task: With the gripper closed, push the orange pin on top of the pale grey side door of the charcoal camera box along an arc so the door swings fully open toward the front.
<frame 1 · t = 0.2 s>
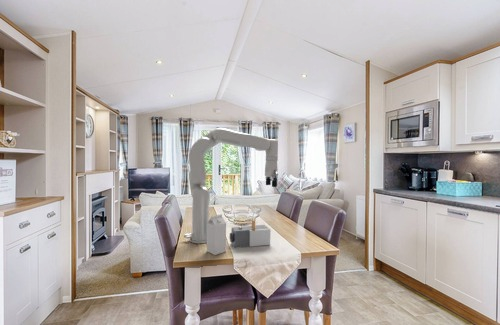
hand: (271, 185, 170), 31 cm above the table, tool pointing down, fingers open, 9 cm apart
milk carton: (216, 252, 138), on the table
side door: (260, 232, 148), point 7 cm above the table, hinge at 0.0°
camera box: (250, 243, 152), on the table
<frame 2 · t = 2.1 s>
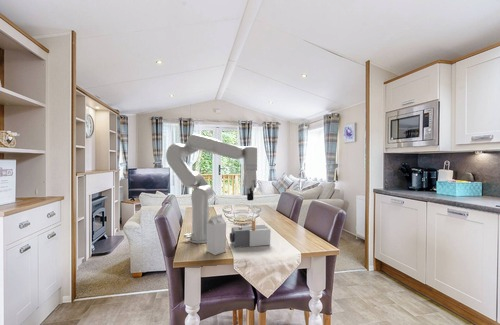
hand: (250, 200, 153), 25 cm above the table, tool pointing down, fingers closed
nothing on the table moved.
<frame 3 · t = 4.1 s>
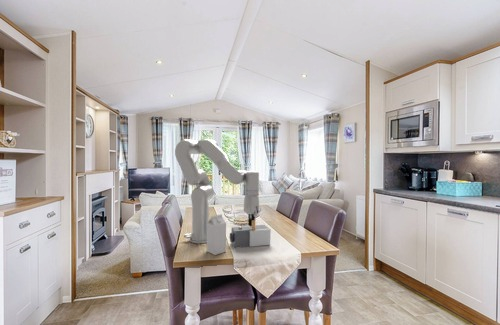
hand: (251, 225, 150), 11 cm above the table, tool pointing down, fingers closed
side door: (260, 232, 148), point 7 cm above the table, hinge at 0.7°, touching gripper
everything else where it was.
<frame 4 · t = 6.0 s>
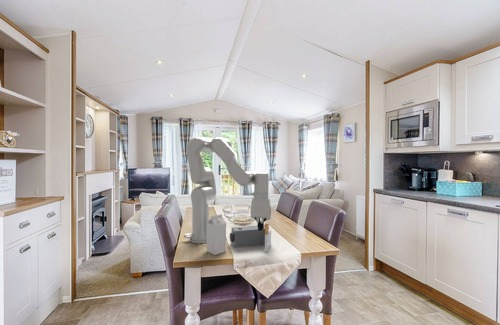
hand: (260, 229, 142), 11 cm above the table, tool pointing down, fingers closed
side door: (268, 234, 144), point 7 cm above the table, hinge at 56.9°, touching gripper
everything else where it was.
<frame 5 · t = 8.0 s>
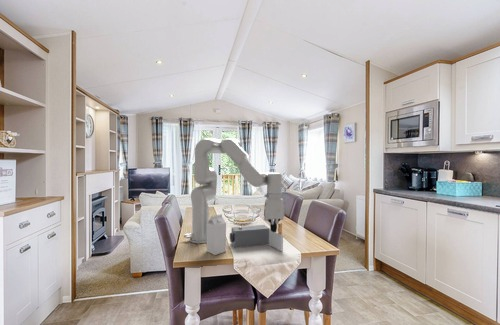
hand: (273, 231, 140), 11 cm above the table, tool pointing down, fingers closed
side door: (275, 234, 145), point 7 cm above the table, hinge at 98.3°
everything else where it was.
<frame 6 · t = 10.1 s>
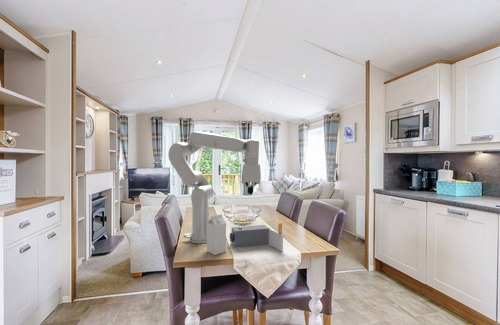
hand: (250, 194, 151), 28 cm above the table, tool pointing down, fingers closed
nothing on the table moved.
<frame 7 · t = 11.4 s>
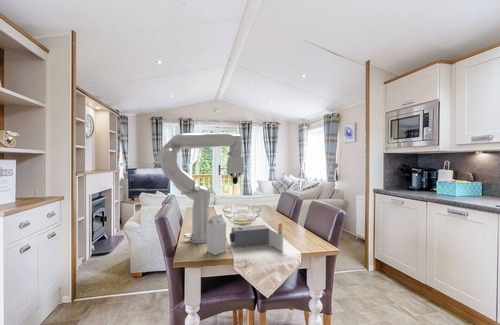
hand: (235, 183, 168), 32 cm above the table, tool pointing down, fingers closed
nothing on the table moved.
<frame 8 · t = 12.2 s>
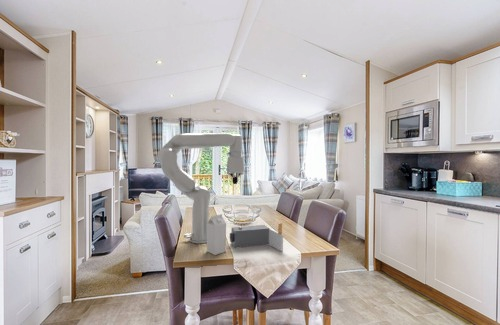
hand: (235, 183, 168), 32 cm above the table, tool pointing down, fingers closed
nothing on the table moved.
at the end: side door at +98° (first picture: +0°); milk carton moved 0.2 cm from its start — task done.
